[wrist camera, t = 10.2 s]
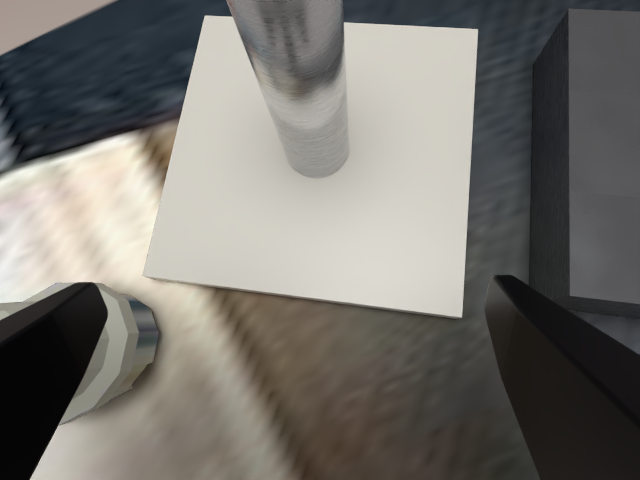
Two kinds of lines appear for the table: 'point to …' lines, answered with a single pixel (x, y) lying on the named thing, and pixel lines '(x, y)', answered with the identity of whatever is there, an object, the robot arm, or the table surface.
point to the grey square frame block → (587, 164)
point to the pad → (326, 178)
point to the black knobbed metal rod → (300, 76)
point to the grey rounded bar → (108, 349)
